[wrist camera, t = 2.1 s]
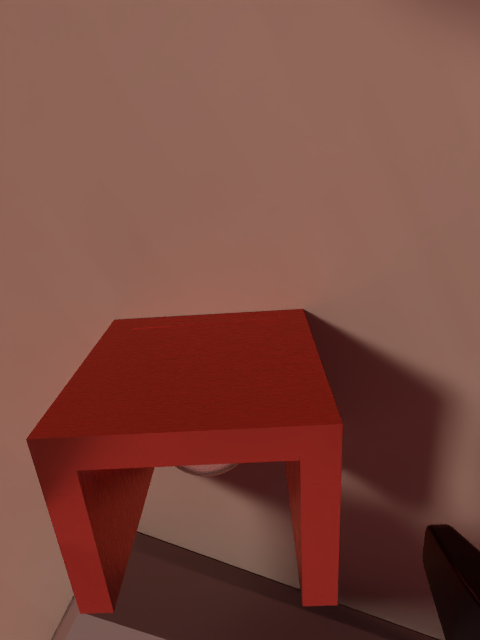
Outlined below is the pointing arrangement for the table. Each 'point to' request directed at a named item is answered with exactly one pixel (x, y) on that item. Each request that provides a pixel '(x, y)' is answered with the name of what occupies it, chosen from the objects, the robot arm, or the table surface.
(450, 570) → the robot arm
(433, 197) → the table surface
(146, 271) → the table surface
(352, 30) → the table surface
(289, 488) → the red arch stool
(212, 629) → the slate tray
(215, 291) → the table surface
